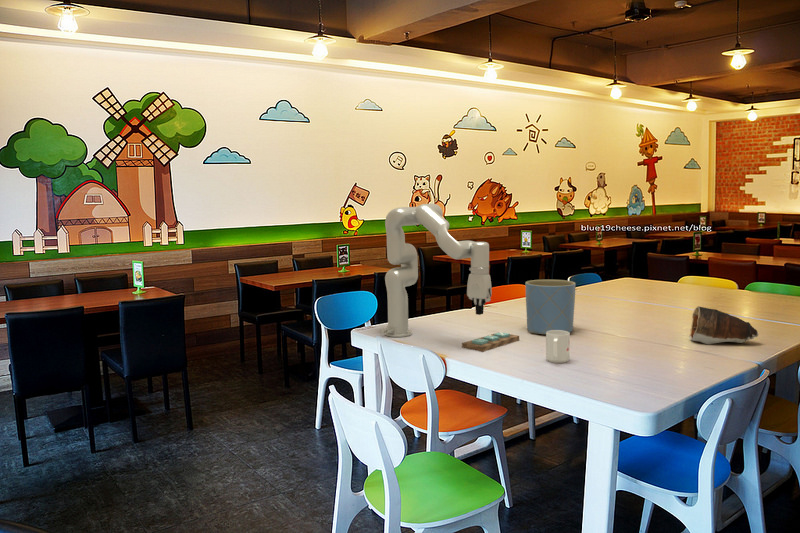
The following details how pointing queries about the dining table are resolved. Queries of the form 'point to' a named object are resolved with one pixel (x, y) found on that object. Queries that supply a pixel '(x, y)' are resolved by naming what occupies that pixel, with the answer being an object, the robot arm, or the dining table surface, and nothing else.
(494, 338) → the tile two
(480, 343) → the tile one
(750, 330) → the brown wedge
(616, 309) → the dining table surface
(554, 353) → the mug
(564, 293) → the planter
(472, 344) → the board
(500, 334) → the tile three
